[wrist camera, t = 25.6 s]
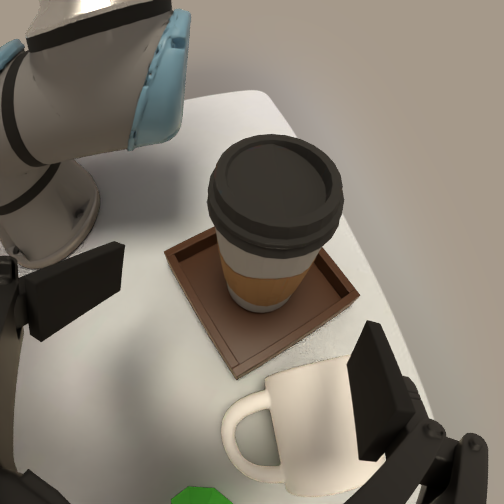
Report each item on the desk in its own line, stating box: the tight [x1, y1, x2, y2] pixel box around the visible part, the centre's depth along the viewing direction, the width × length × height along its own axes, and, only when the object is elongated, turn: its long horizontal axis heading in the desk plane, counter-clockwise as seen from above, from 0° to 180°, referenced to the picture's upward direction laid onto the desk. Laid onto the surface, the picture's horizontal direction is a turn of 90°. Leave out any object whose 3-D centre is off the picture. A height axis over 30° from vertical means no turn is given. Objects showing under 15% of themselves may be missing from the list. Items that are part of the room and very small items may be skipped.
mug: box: [221, 355, 385, 497], centre depth 20 cm, size 12×10×8 cm
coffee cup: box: [207, 134, 344, 313], centre depth 23 cm, size 8×8×15 cm
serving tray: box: [164, 226, 360, 380], centre depth 29 cm, size 14×14×3 cm
